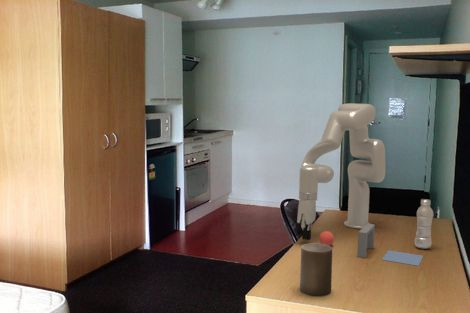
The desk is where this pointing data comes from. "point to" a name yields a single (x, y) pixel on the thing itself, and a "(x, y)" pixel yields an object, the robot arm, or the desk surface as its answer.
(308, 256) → the pillar candle
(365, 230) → the bridge
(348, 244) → the desk surface
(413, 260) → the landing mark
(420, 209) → the plastic bottle
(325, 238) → the ball
